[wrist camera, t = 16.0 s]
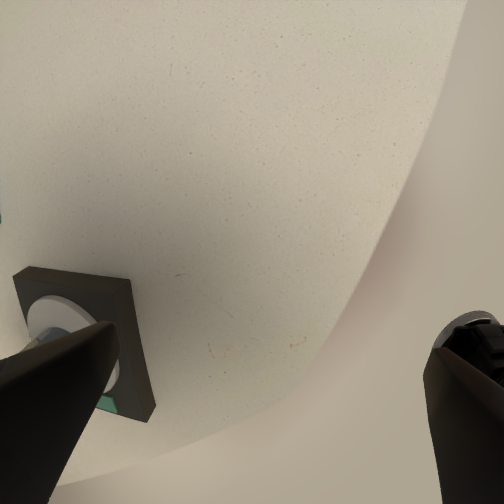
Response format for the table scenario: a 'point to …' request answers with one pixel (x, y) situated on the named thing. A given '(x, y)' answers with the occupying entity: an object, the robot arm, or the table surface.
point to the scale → (85, 314)
